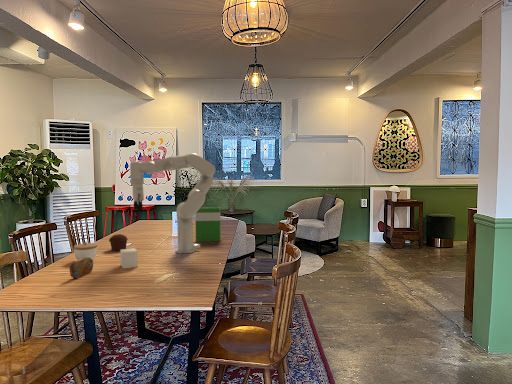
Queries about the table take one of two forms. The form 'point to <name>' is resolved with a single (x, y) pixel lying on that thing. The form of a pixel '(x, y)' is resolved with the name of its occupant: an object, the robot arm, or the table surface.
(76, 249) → the lidded bowl
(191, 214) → the robot arm
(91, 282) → the table surface
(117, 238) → the muffin
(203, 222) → the hardback book
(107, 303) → the table surface
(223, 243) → the table surface
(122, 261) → the beige cube
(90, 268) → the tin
